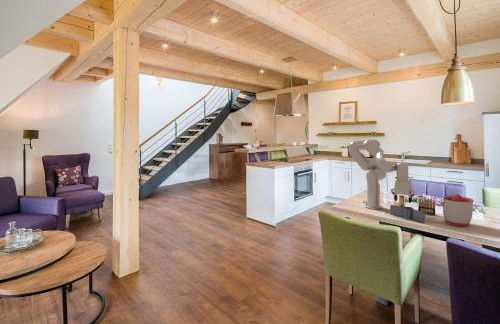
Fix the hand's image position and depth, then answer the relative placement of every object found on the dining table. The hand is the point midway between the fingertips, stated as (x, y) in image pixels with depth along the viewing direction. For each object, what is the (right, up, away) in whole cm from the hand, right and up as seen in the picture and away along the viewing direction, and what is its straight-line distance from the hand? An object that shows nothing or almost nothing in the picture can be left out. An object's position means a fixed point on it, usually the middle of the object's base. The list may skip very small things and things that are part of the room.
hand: (402, 201), depth 192 cm
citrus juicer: (+21, -11, -23) cm, 33 cm away
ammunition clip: (+18, -9, 0) cm, 20 cm away
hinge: (-1, -11, -8) cm, 13 cm away
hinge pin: (0, -10, +2) cm, 10 cm away
